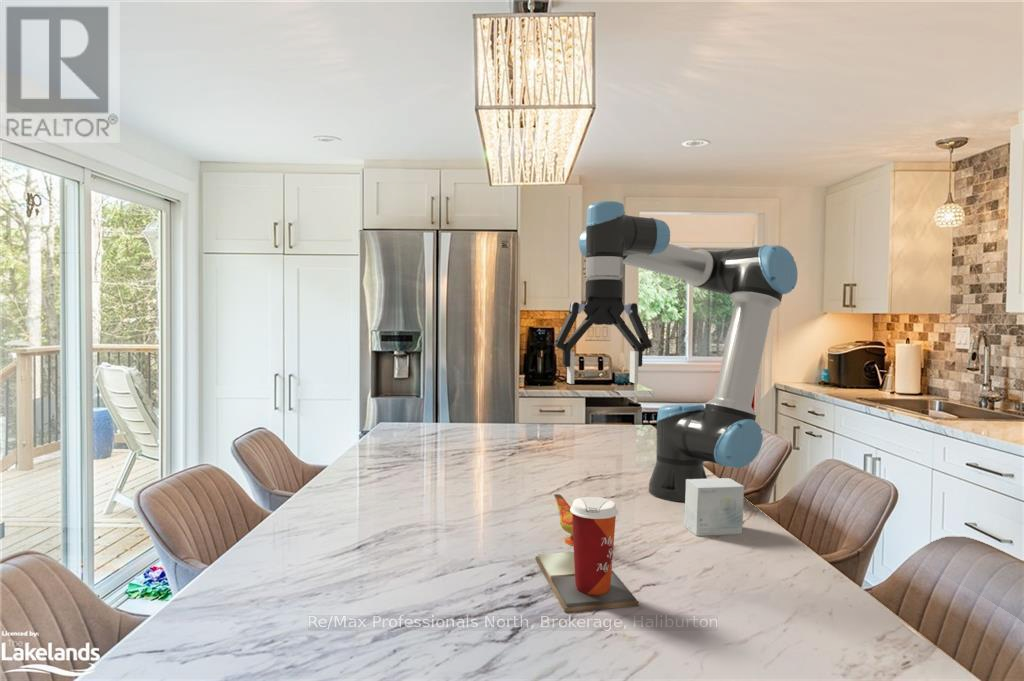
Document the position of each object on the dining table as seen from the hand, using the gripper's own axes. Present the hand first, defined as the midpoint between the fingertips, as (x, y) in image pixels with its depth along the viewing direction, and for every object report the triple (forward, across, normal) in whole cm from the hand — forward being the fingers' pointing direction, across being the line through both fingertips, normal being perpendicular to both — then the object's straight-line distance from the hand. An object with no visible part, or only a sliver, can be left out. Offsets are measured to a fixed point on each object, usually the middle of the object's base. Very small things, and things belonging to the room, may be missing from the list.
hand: (602, 383), depth 122 cm
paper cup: (+31, +10, +25) cm, 41 cm away
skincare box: (+32, -25, +1) cm, 41 cm away
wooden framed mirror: (+32, +10, +20) cm, 39 cm away
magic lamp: (+32, +6, +1) cm, 32 cm away
